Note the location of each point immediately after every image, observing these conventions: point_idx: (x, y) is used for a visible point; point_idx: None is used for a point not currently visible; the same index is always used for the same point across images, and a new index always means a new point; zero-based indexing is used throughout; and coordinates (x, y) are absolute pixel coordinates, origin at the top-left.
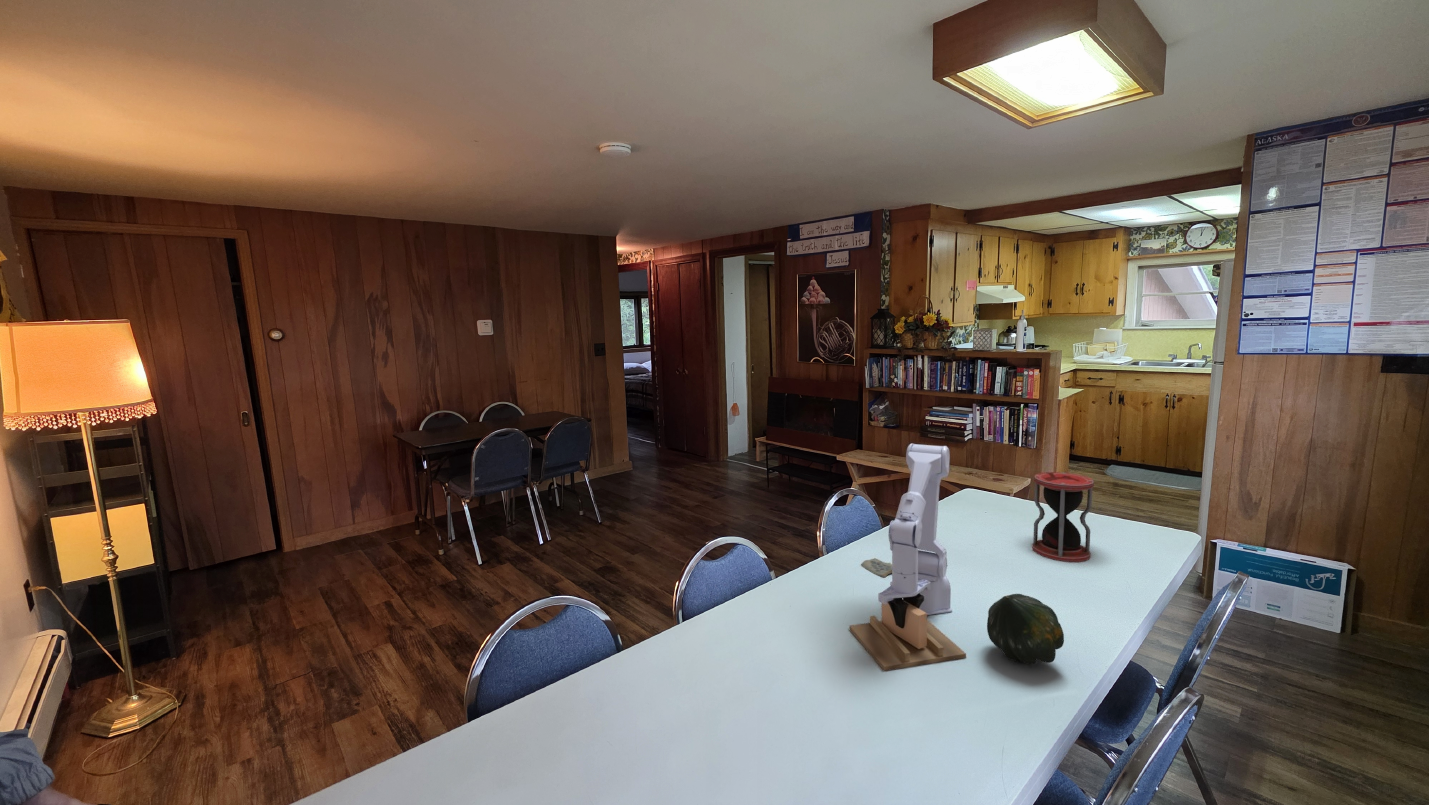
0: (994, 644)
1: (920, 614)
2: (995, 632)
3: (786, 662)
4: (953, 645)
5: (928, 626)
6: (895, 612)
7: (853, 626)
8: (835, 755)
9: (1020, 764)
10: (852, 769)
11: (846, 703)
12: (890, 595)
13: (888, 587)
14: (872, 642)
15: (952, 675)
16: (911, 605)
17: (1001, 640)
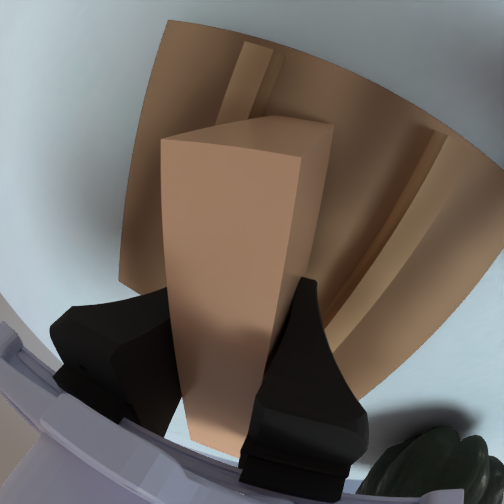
0: (416, 440)
1: (207, 444)
2: (376, 491)
3: (5, 114)
4: (376, 375)
5: (459, 270)
6: None
7: (176, 33)
8: (26, 306)
9: (178, 440)
10: (36, 325)
11: (43, 271)
12: (21, 415)
13: (14, 403)
14: (157, 175)
15: None
16: (245, 415)
17: (362, 489)
